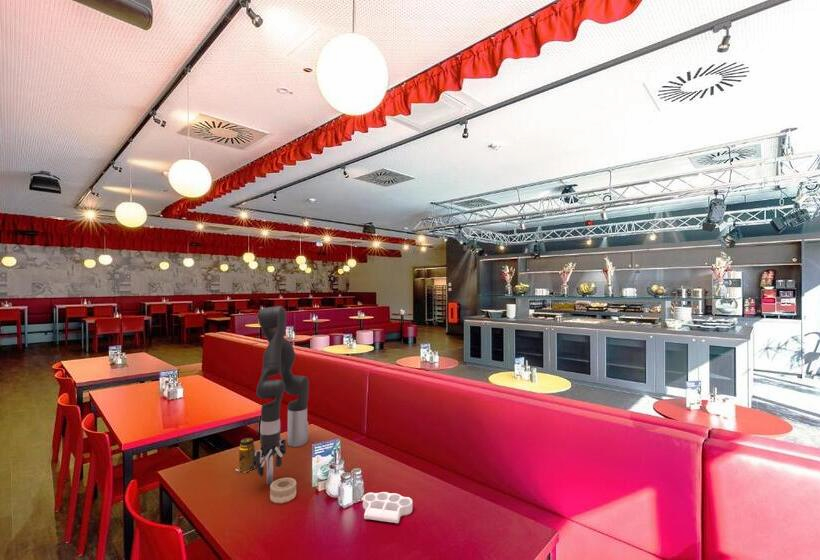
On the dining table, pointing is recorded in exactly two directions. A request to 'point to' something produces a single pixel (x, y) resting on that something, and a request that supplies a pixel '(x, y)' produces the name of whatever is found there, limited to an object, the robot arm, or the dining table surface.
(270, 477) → the white rod
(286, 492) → the bead
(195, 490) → the dining table surface
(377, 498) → the white compartment tray
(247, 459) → the condiment
